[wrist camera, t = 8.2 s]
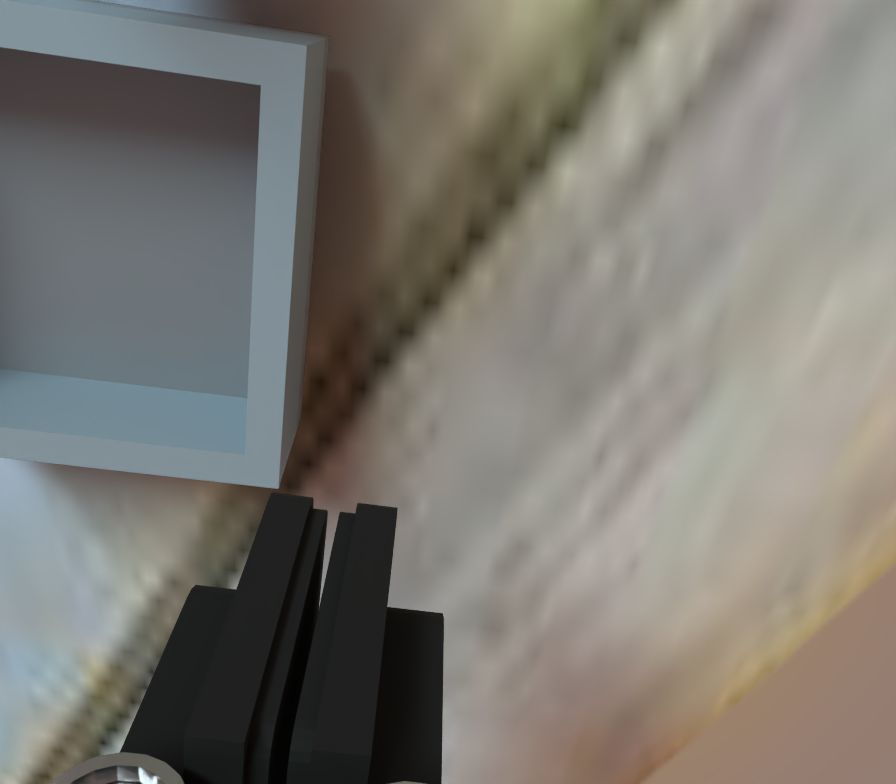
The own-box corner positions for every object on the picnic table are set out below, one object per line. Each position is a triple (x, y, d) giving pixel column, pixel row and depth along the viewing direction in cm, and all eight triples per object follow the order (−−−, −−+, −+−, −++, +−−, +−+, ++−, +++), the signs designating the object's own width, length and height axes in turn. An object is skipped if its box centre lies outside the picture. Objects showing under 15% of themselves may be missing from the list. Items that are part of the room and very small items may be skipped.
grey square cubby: (335, 33, 25) (306, 45, 19) (307, 397, 30) (278, 488, 24) (-89, -31, 24) (-244, -37, 18) (-43, 355, 29) (-153, 440, 23)
